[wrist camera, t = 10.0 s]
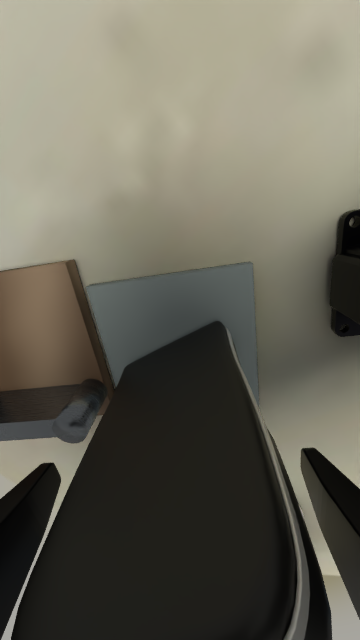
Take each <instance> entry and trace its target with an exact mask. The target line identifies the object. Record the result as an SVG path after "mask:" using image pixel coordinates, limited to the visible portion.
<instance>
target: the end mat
mask: <svg viewBox="0 0 360 640" xmlns="http://www.w3.org/2000/svg"><path fill="white" fill-rule="evenodd" d="M86 289H87V292H88V296H89V299H90V302H91V306H92V309H93V312H94V316H95V319H96V322H97V326H98V329H99V332H100V336H101V339H102V342H103V346H104V349H105V352H106V356H107V359H108V362H109V366H110V369H111V372H112V376H113V379H114V382H115V386H116V387H117V385H118V382H119V380H120V378H121V375H122V373H123V370H124V368H125V367H126V366H127V365H129V364H131V363H132V362H134V361H136V360H138V359H140V358H142V357H144V356H146V355H148V354H150V353H152V352H154V351H156V350H158V349H160V348H162V347H164V346H166V345H168V344H170V343H172V342H174V341H176V340H178V339H180V338H182V337H184V336H186V335H188V334H190V333H192V332H194V331H196V330H198V329H200V328H202V327H204V326H206V325H208V324H210V323H212V322H215V321H220V322H222V324H223V325H224V326H225V327H226V328H227V329H228V330H229V332H230V334H231V338H232V341H233V343H234V344H235V348H236V352H237V355H238V359H239V362H240V365H241V368H242V370H243V372H244V374H245V377H246V379H247V381H248V384H249V386H250V388H251V390H252V393H253V395H254V398H255V400H256V402H257V405H258V407H259V390H258V368H257V346H256V324H255V302H254V280H253V263H252V262H244V263H237V264H230V265H223V266H217V267H210V268H203V269H196V270H189V271H182V272H175V273H168V274H161V275H154V276H147V277H140V278H133V279H126V280H119V281H112V282H105V283H99V284H92V285H89V286H87V287H86Z"/></svg>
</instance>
